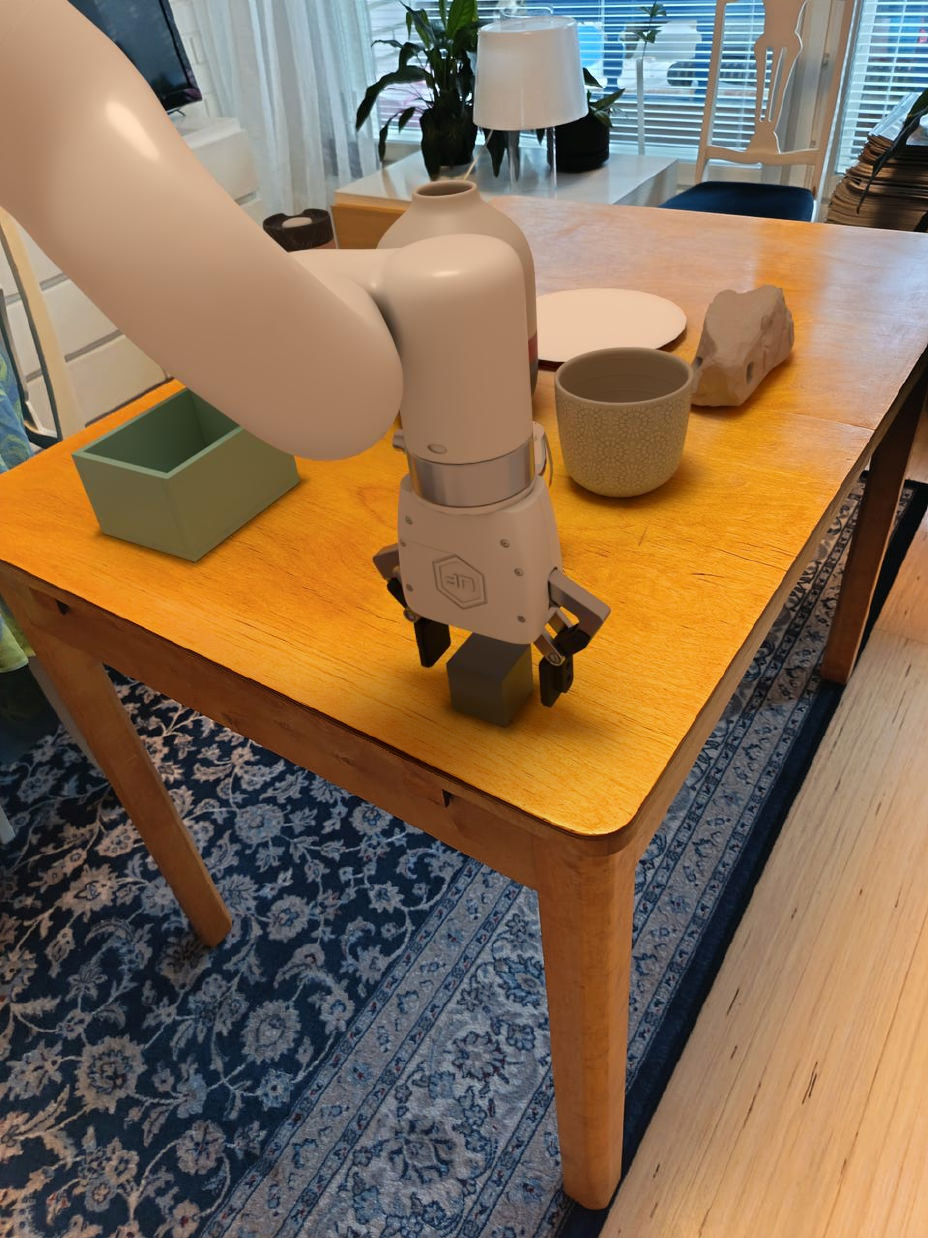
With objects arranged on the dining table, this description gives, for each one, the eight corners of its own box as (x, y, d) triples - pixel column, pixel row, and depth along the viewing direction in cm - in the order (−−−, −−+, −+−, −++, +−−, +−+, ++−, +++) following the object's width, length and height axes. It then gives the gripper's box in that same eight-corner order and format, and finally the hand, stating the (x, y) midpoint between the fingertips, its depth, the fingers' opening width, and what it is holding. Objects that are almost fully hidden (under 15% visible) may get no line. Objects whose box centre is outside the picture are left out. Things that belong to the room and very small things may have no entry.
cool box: (195, 562, 83) (167, 478, 78) (102, 533, 89) (70, 453, 84) (300, 482, 94) (281, 403, 88) (210, 460, 99) (188, 385, 94)
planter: (531, 479, 90) (526, 375, 83) (623, 436, 95) (625, 335, 88) (618, 528, 81) (620, 417, 75) (713, 479, 87) (723, 371, 80)
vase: (561, 387, 106) (555, 166, 91) (506, 455, 94) (490, 214, 79) (431, 374, 112) (406, 165, 97) (365, 436, 100) (325, 210, 85)
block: (505, 728, 63) (501, 681, 61) (451, 709, 65) (445, 663, 63) (533, 688, 66) (531, 642, 63) (481, 672, 68) (477, 626, 65)
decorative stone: (733, 427, 94) (743, 334, 88) (666, 413, 98) (671, 323, 92) (799, 354, 107) (812, 268, 100) (738, 345, 110) (746, 261, 104)
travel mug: (334, 407, 107) (299, 230, 94) (285, 397, 110) (246, 225, 98) (372, 381, 112) (344, 209, 99) (325, 372, 115) (292, 205, 103)
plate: (728, 328, 115) (729, 315, 114) (582, 392, 104) (582, 378, 103) (591, 286, 131) (591, 274, 130) (453, 338, 120) (452, 325, 119)
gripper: (318, 465, 55) (365, 673, 66) (578, 522, 47) (583, 748, 58) (387, 412, 60) (420, 614, 71) (633, 456, 52) (629, 675, 63)
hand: (494, 674), depth 64 cm, fingers open, 9 cm apart
